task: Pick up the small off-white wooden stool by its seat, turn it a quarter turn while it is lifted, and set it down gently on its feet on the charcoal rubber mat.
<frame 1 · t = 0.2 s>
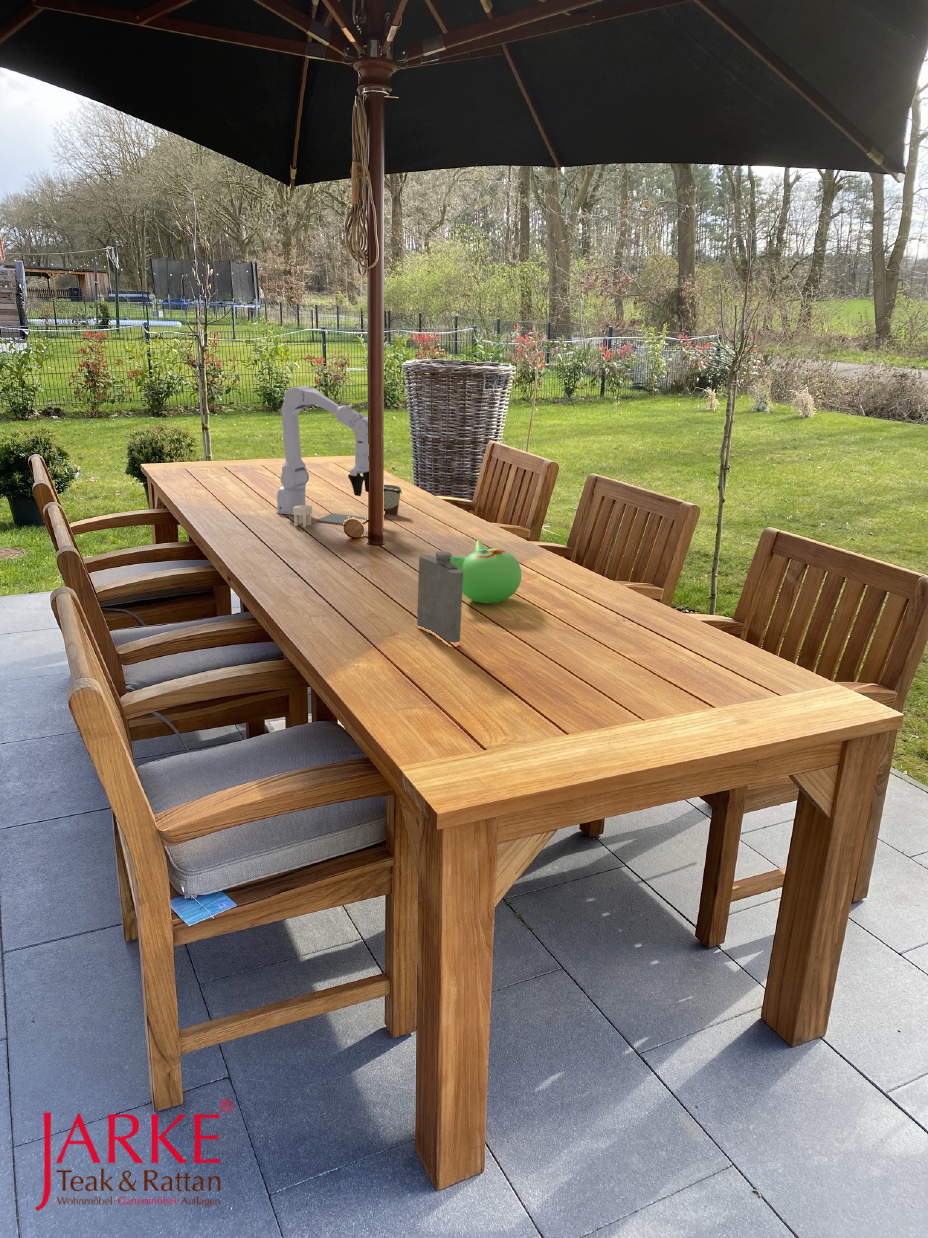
hand: (363, 493, 305), 10 cm above the table, tool pointing down, fingers open, 7 cm apart
food container: (385, 513, 324), on the table
toy bird: (485, 601, 234), on the table
hip flask: (439, 636, 207), on the table
mat: (344, 520, 310), on the table
stool: (302, 525, 301), on the table
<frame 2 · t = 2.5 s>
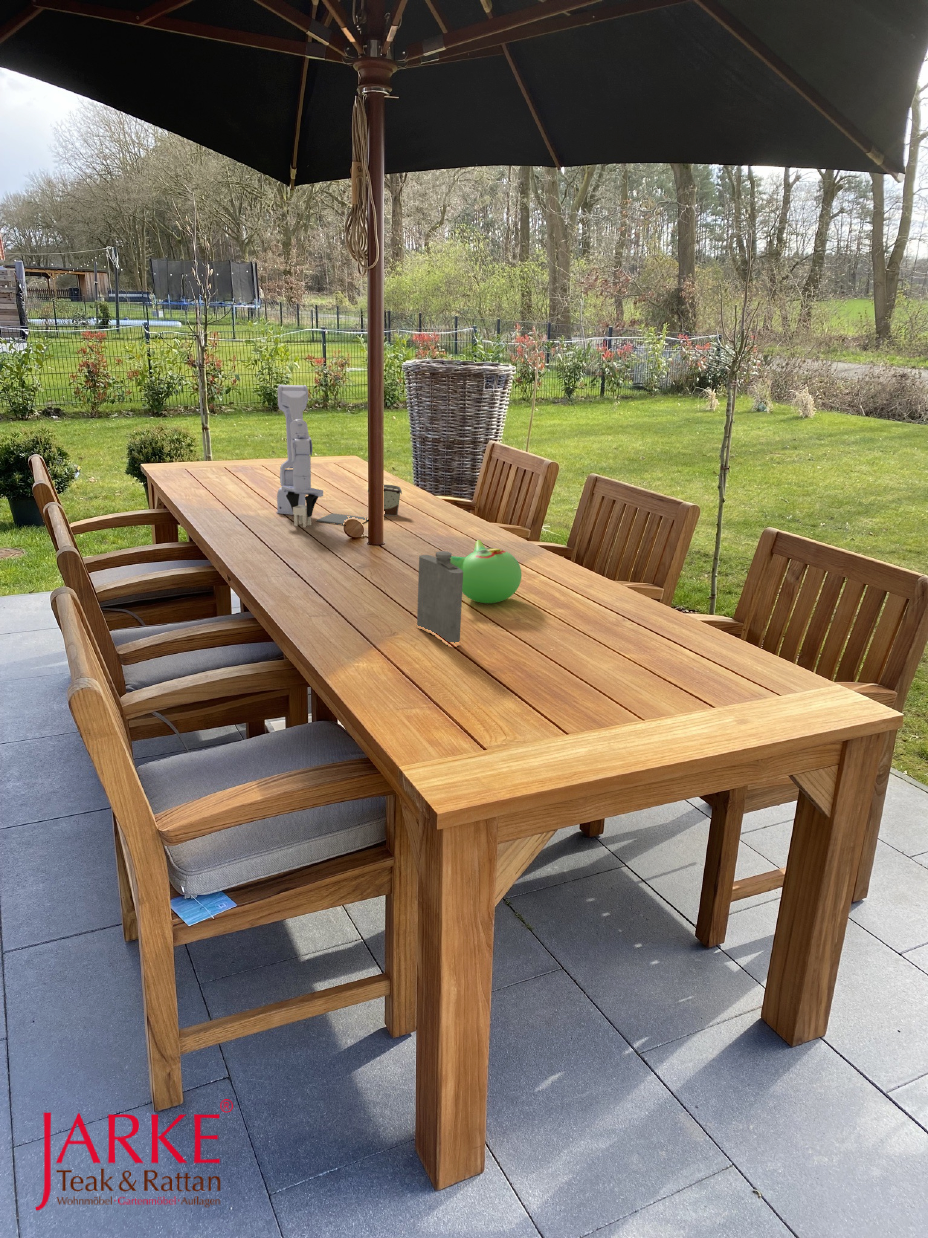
hand: (302, 515, 300), 3 cm above the table, tool pointing down, fingers closed on stool, 5 cm apart
stool: (302, 525, 301), on the table, touching gripper
everything else where it was.
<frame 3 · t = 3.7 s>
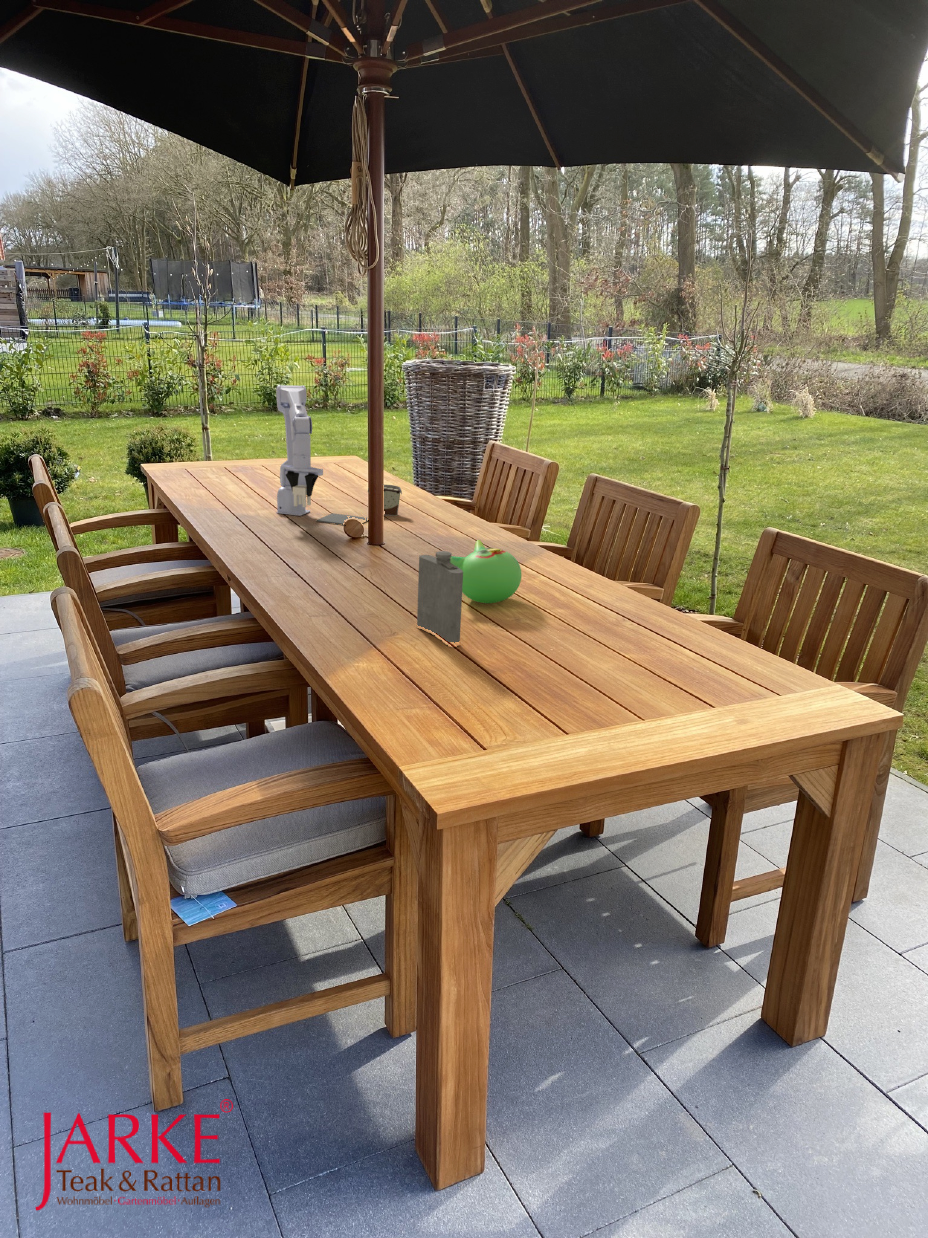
hand: (302, 494, 297), 10 cm above the table, tool pointing down, fingers closed on stool, 5 cm apart
stool: (302, 505, 298), point 7 cm above the table, touching gripper
everything else where it was.
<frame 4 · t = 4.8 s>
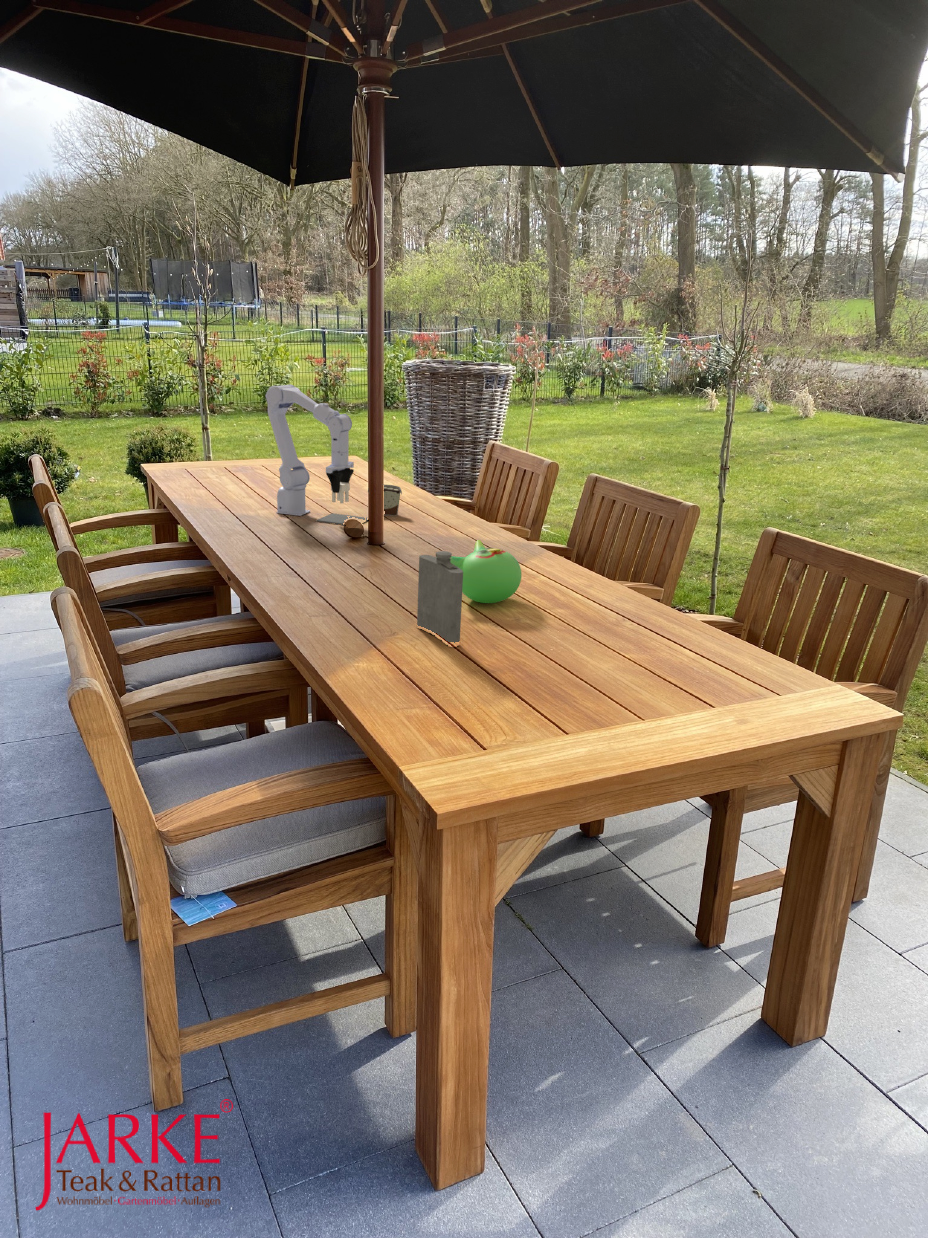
hand: (340, 491, 305), 10 cm above the table, tool pointing down, fingers closed on stool, 5 cm apart
stool: (340, 501, 306), point 7 cm above the table, touching gripper
everything else where it was.
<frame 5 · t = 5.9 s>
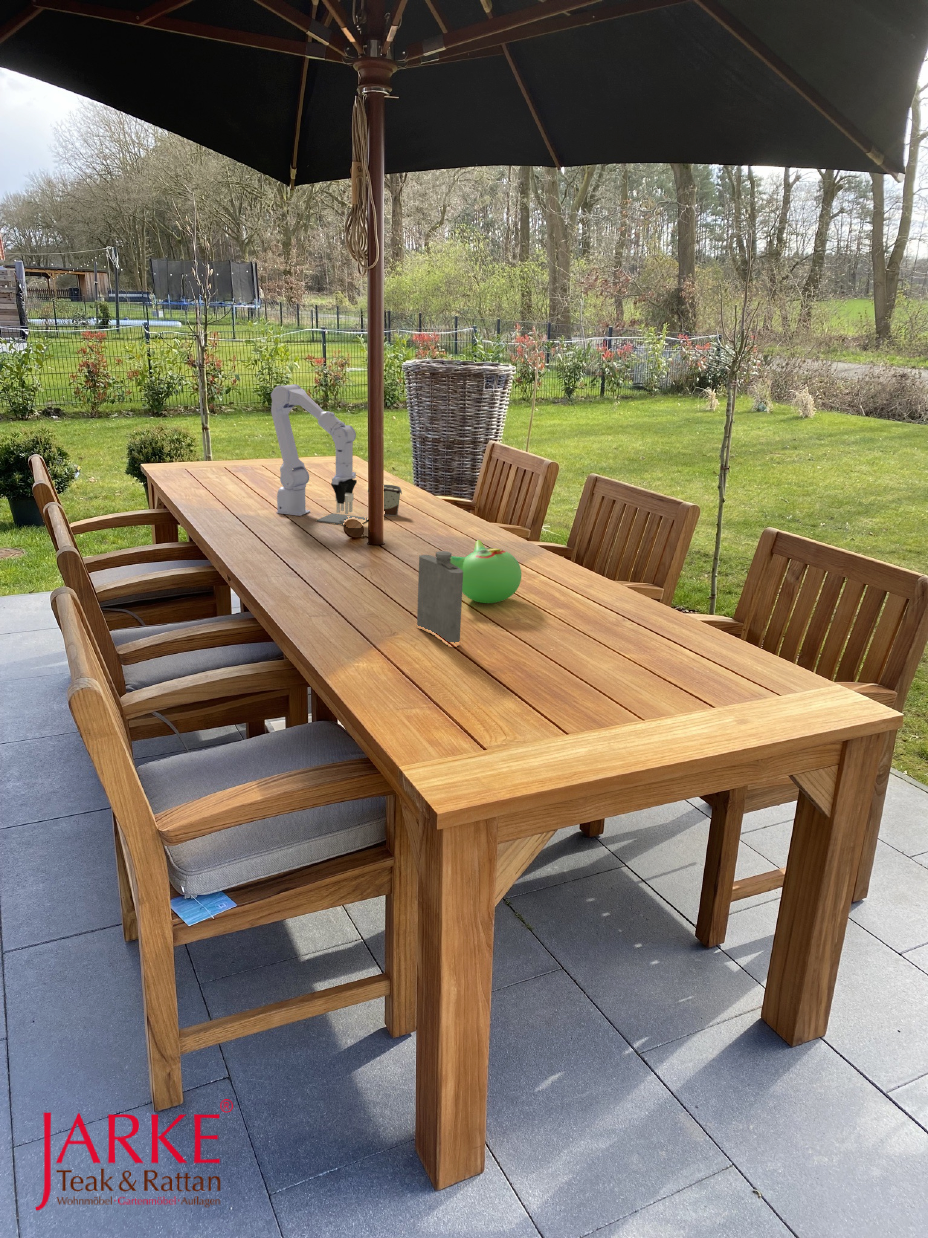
hand: (344, 501, 308), 7 cm above the table, tool pointing down, fingers closed on stool, 5 cm apart
stool: (344, 512, 309), point 3 cm above the table, touching gripper
everything else where it was.
when the fingers open (5 cm above the table, at t = 7.1 s): stool drops 1 cm, resting on mat.
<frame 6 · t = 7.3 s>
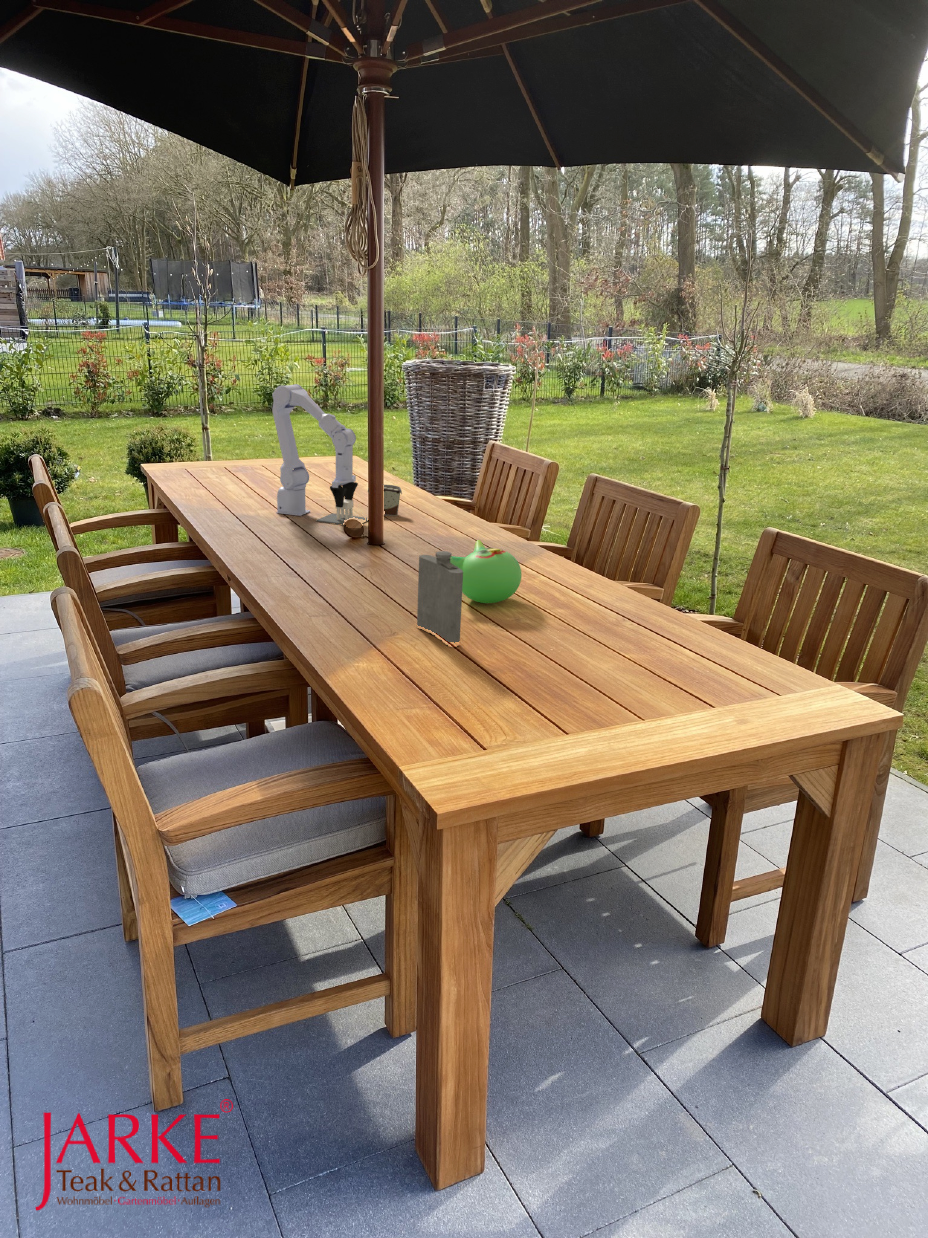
hand: (344, 505, 308), 6 cm above the table, tool pointing down, fingers open, 6 cm apart
stool: (344, 519, 309), point 1 cm above the table, touching mat
everything else where it was.
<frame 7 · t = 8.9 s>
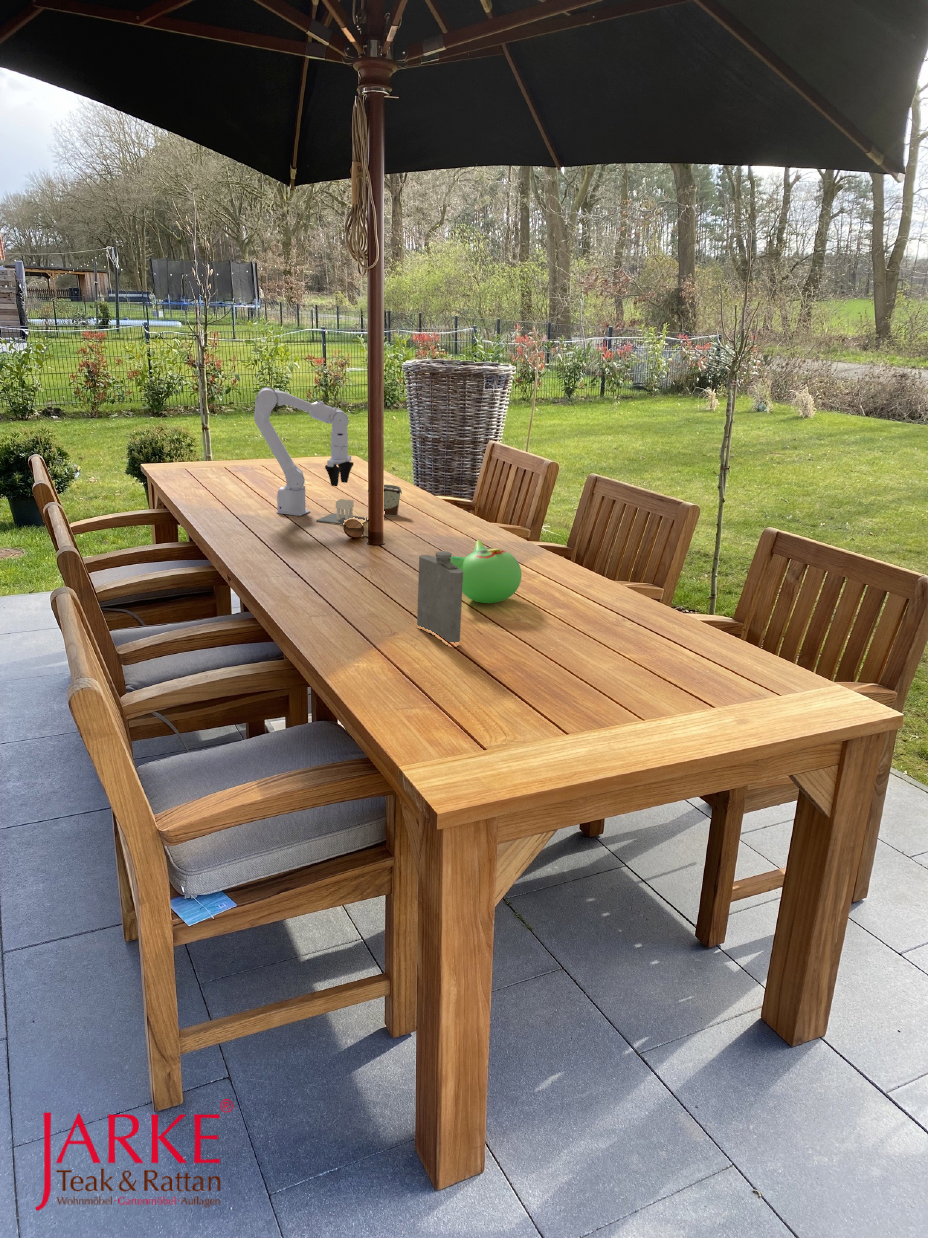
hand: (339, 484, 317), 10 cm above the table, tool pointing down, fingers open, 7 cm apart
nothing on the table moved.
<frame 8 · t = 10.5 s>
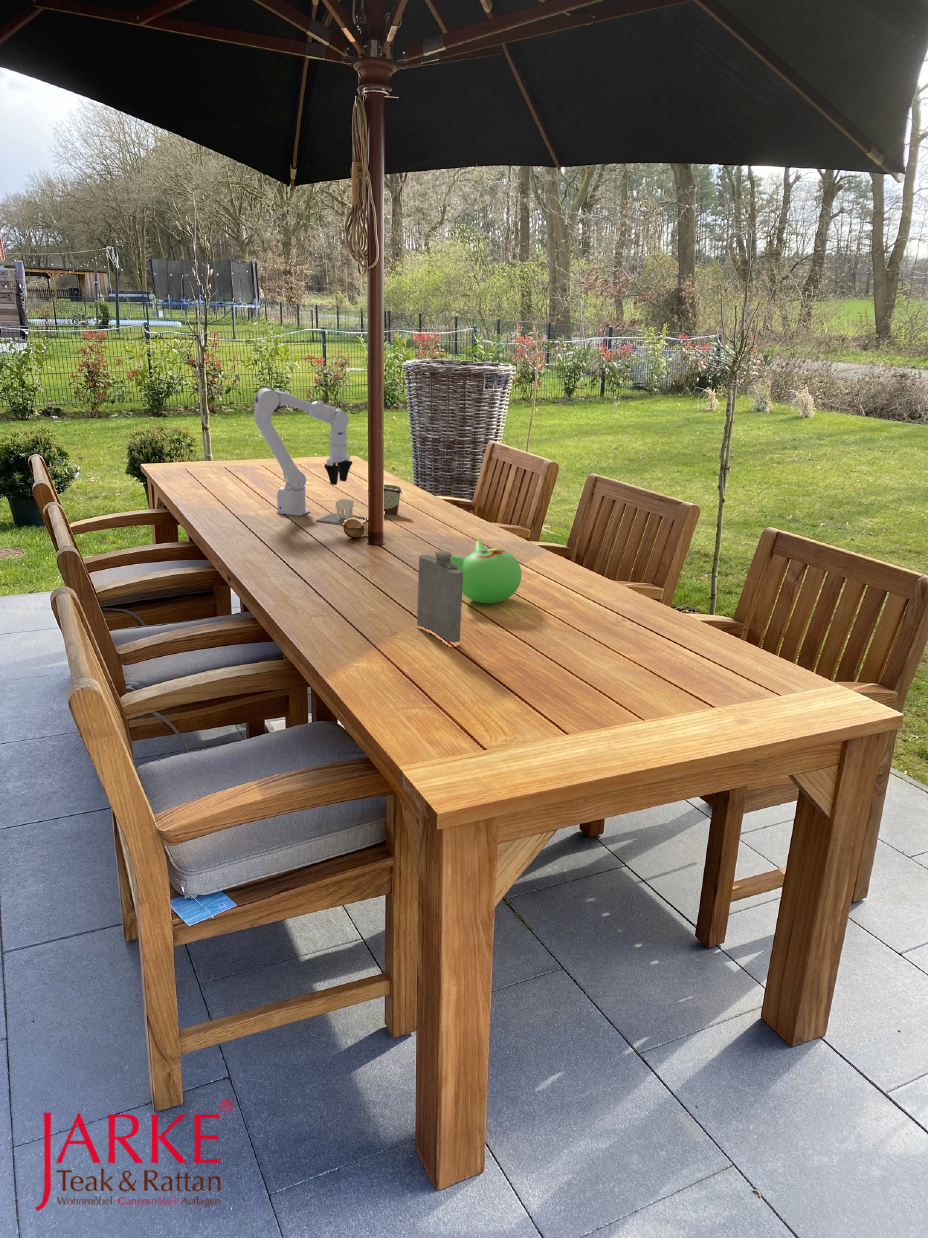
hand: (338, 482, 319), 10 cm above the table, tool pointing down, fingers open, 7 cm apart
nothing on the table moved.
at the end: stool 0.3 cm off-centre on the mat, point 0.6 cm above the mat's base; stool tilted 0°; stool touching mat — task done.
